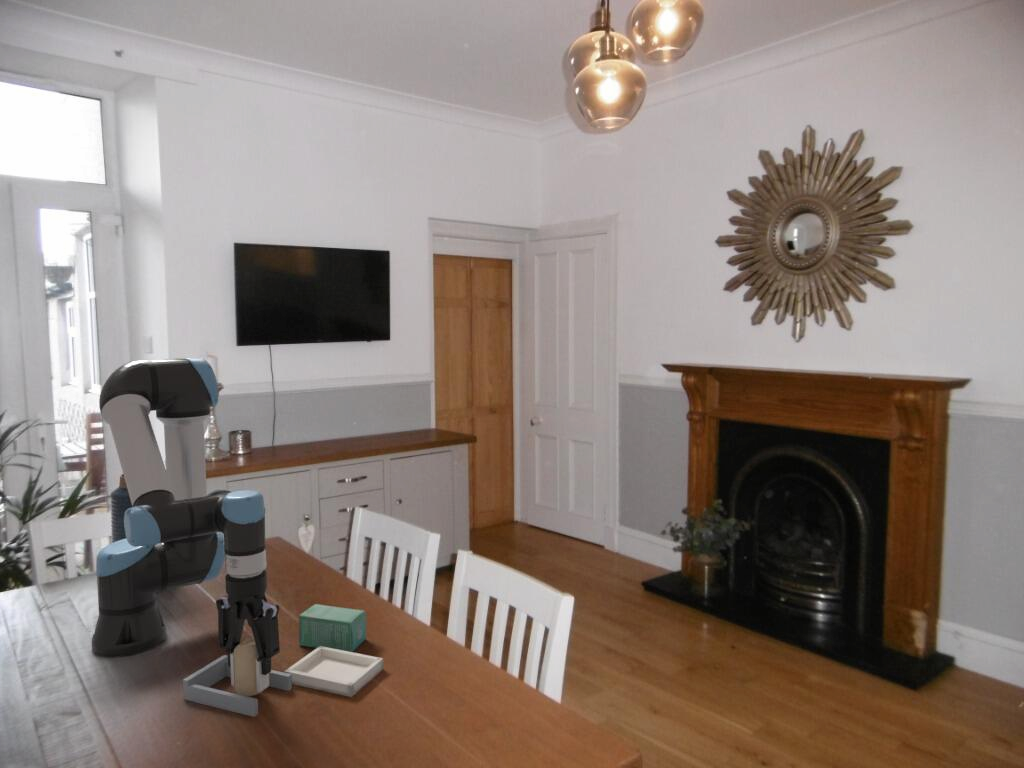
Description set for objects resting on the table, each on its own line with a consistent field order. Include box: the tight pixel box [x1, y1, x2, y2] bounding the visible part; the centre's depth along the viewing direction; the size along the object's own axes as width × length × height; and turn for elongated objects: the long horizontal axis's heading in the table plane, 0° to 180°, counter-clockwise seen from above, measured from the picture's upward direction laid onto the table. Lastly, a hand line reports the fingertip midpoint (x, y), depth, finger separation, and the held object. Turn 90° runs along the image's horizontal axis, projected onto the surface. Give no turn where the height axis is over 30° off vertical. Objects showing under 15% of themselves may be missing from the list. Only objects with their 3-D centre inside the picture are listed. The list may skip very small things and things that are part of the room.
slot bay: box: [182, 654, 293, 718], centre depth 143 cm, size 17×11×4 cm, turn 69°
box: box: [298, 603, 368, 653], centre depth 165 cm, size 7×14×8 cm, turn 75°
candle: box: [234, 637, 263, 697], centre depth 142 cm, size 6×6×10 cm
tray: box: [283, 646, 384, 698], centre depth 150 cm, size 16×12×2 cm
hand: (250, 685), depth 142 cm, fingers closed on candle, 5 cm apart
